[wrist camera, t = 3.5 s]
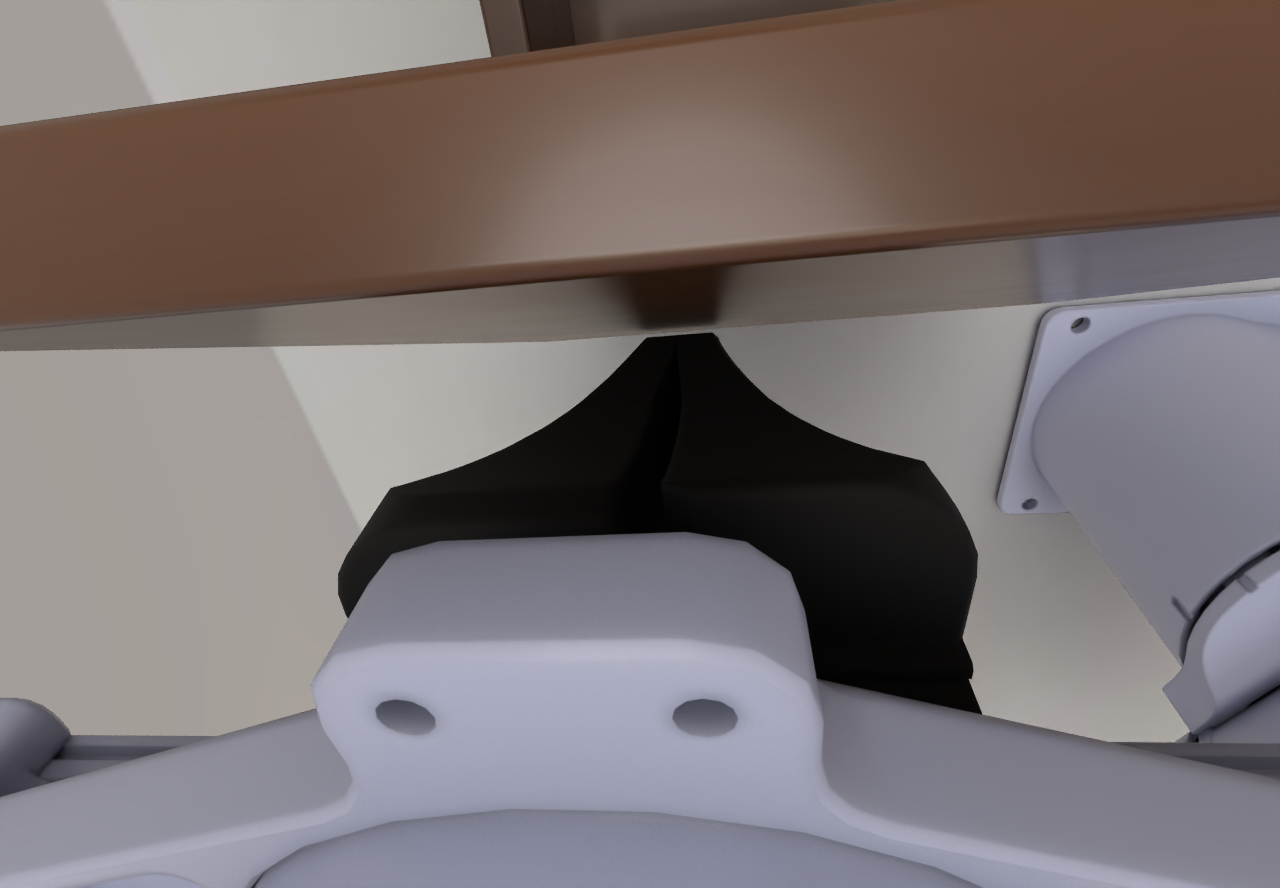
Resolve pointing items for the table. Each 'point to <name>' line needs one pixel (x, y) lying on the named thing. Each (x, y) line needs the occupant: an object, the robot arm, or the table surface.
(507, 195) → the lid
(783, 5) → the box
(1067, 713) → the table surface
